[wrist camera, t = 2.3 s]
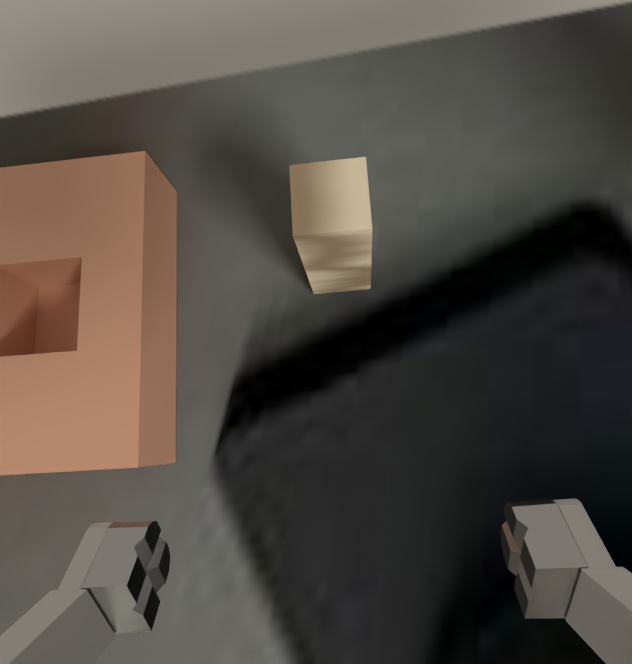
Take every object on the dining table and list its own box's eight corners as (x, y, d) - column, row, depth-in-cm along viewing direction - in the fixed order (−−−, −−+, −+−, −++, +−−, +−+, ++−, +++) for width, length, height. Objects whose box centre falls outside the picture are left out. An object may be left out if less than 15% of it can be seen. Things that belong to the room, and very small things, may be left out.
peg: (366, 235, 35) (365, 156, 25) (370, 289, 34) (372, 228, 24) (310, 241, 35) (289, 165, 25) (313, 294, 34) (292, 236, 25)
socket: (177, 192, 37) (145, 150, 32) (175, 462, 33) (138, 467, 27) (5, 210, 38) (-54, 173, 33) (-19, 473, 34) (-91, 480, 29)
